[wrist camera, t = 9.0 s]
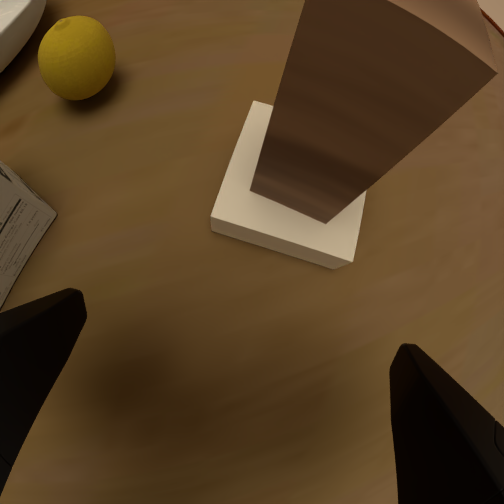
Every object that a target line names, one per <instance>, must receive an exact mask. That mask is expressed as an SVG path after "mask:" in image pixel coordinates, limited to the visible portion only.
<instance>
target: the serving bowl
mask: <svg viewBox="0 0 504 504" xmlns="http://www.w3.org/2000/svg"><path fill="white" fill-rule="evenodd" d="M46 1H47V0H0V73H1V72H2V71H3V70H4V69H5V68H6V67H7V65H8V64H9V63H10V62H11V61H12V60H13V59H14V57H15V56H16V55H17V54H18V53H19V52H20V50H21V49H22V48H23V46H24V45H25V44H26V42H27V41H28V40H29V38H30V37H31V35H32V34H33V32H34V30H35V28H36V27H37V25H38V23H39V21H40V19H41V16H42V14H43V11H44V8H45V5H46Z"/></svg>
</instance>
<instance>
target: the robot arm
mask: <svg viewBox="0 0 504 504" xmlns="http://www.w3.org/2000/svg"><path fill="white" fill-rule="evenodd" d="M86 319H87V311H86V307H85V302H84V297H83V294H82V292H81V291H80V290H77V289H73V288H67V289H64V290H61V291H59V292H56V293H53V294H50V295H48V296H45V297H42V298H40V299H37V300H34V301H31V302H29V303H26V304H23V305H21V306H18V307H15V308H13V309H10V310H7V311H5V312H2V313H0V496H1V493H2V491H3V488H4V486H5V484H6V481H7V479H8V476H9V474H10V472H11V469H12V467H13V465H14V462H15V460H16V458H17V456H18V454H19V451H20V449H21V447H22V445H23V443H24V441H25V439H26V437H27V435H28V433H29V431H30V429H31V427H32V425H33V423H34V421H35V419H36V417H37V415H38V413H39V411H40V409H41V407H42V405H43V403H44V401H45V400H46V398H47V396H48V394H49V392H50V390H51V389H52V387H53V385H54V383H55V381H56V380H57V378H58V376H59V374H60V372H61V371H62V369H63V367H64V365H65V364H66V362H67V360H68V358H69V356H70V354H71V352H72V349H73V347H74V345H75V343H76V341H77V339H78V336H79V334H80V332H81V330H82V328H83V326H84V324H85V322H86ZM389 375H390V402H391V425H392V434H393V442H394V452H395V462H396V474H397V488H398V504H504V427H503V426H502V425H501V424H500V423H499V422H498V421H495V418H494V417H493V416H492V415H491V414H490V413H488V412H487V411H486V410H485V409H484V408H483V407H482V406H481V405H480V404H479V403H478V402H477V401H476V400H475V399H474V398H473V397H472V396H471V395H470V394H469V393H468V392H467V391H466V390H465V389H464V388H463V387H461V386H460V385H459V384H458V383H457V382H456V381H455V380H454V379H453V378H452V377H451V376H450V375H449V374H448V373H447V372H445V371H444V370H443V369H442V368H441V367H440V366H439V365H438V364H437V363H436V362H435V361H434V360H433V359H431V358H430V357H429V356H428V355H427V354H426V353H425V352H424V351H423V350H422V349H421V348H419V347H418V346H417V345H416V344H407V343H404V344H402V345H401V346H400V347H399V349H398V351H397V353H396V355H395V358H394V360H393V362H392V364H391V366H390V372H389Z"/></svg>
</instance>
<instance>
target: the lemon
mask: <svg viewBox="0 0 504 504" xmlns="http://www.w3.org/2000/svg"><path fill="white" fill-rule="evenodd" d="M38 63H39V68H40V72H41V75H42V78H43V80H44V82H45V83H46V85H47V86H48V87H49V88H50V90H51V91H52V92H53V93H55V94H56V95H58V96H60V97H62V98H64V99H67V100H82V99H86V98H89V97H91V96H93V95H95V94H96V93H98V92H99V91H100V90H101V89H102V88H104V87H105V85H106V84H107V83H108V81H109V80H110V78H111V76H112V73H113V71H114V67H115V50H114V45H113V42H112V39H111V37H110V35H109V34H108V32H107V31H106V29H105V28H104V27H103V26H102V25H101V24H100V23H99V22H98V21H97V20H95V19H93V18H90V17H87V16H72V17H68V18H63V19H60V20H59V21H57V23H56V24H55V25H53V26H52V27H51V28H50V29H49V30H48V32H47V33H46V34H45V36H44V38H43V39H42V41H41V44H40V47H39V51H38Z"/></svg>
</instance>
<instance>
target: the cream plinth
mask: <svg viewBox="0 0 504 504" xmlns="http://www.w3.org/2000/svg"><path fill="white" fill-rule="evenodd" d="M272 110H273V106H271V105H267V104H264V103H261V102H257V101H253V104H252V106H251V109H250V111H249V114H248V117H247V119H246V122H245V124H244V127H243V129H242V132H241V135H240V137H239V140H238V142H237V145H236V148H235V150H234V153H233V156H232V158H231V161H230V164H229V166H228V169H227V172H226V174H225V177H224V180H223V183H222V185H221V188H220V191H219V194H218V197H217V199H216V202H215V205H214V208H213V211H212V214H211V231H213V232H216V233H220V234H223V235H226V236H229V237H232V238H236V239H239V240H242V241H245V242H248V243H252V244H255V245H258V246H261V247H264V248H267V249H271V250H274V251H277V252H280V253H283V254H286V255H289V256H293V257H296V258H299V259H302V260H305V261H308V262H312V263H315V264H318V265H321V266H324V267H327V268H330V269H333V270H334V269H337V268H339V267H342V266H344V265H347V264H349V263H352V262H353V258H354V253H355V249H356V244H357V239H358V234H359V229H360V224H361V218H362V213H363V207H364V202H365V196H366V191H365V192H363V193H362V194H361V195H360V196H359V197H357V198H356V199H355V200H354V201H353V202H352V203H350V204H349V205H348V206H347V207H346V208H344V209H343V210H342V211H341V212H340V213H339V214H337V215H336V216H335V217H334V218H333V219H331V220H330V221H329V222H328V223H327V224H324V223H322V222H320V221H317V220H315V219H313V218H311V217H309V216H306V215H304V214H302V213H300V212H297V211H295V210H293V209H291V208H288V207H286V206H284V205H282V204H279V203H277V202H275V201H272V200H270V199H268V198H265V197H263V196H261V195H258V194H256V193H254V192H251V191H250V187H251V184H252V180H253V176H254V173H255V169H256V166H257V162H258V159H259V155H260V152H261V148H262V145H263V141H264V138H265V134H266V131H267V127H268V124H269V120H270V117H271V113H272Z"/></svg>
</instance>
